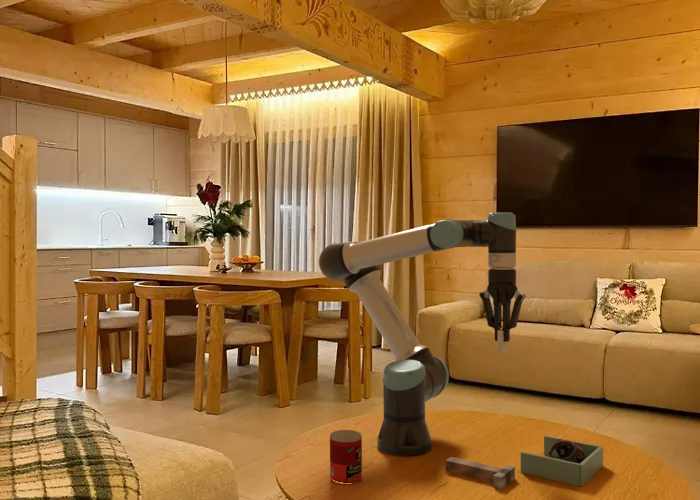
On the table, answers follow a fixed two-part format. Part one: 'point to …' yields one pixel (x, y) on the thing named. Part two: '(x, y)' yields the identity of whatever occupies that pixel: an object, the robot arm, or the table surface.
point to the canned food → (346, 456)
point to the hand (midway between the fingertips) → (502, 353)
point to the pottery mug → (567, 451)
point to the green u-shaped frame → (563, 463)
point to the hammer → (481, 471)
